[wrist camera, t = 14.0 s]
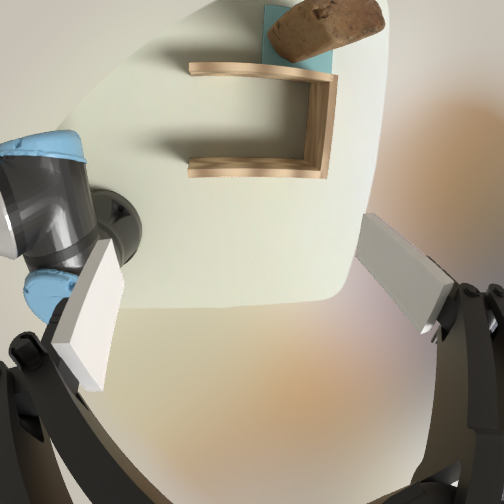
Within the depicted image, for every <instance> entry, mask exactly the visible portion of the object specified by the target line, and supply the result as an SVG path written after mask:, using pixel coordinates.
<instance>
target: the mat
mask: <svg viewBox="0 0 504 504" xmlns="http://www.w3.org/2000/svg"><path fill="white" fill-rule="evenodd" d="M290 9H291V8H288V7H282V6H275V5H267V4H266V5H265V11H264V28H263V45H262V62H261V64H266V65H276V66H285V67H292V68H299V69H306V70H312V71H318V72H323V73H328V74H331V70H332V54H333V50H330V51H328V52H325V53H322V54H320V55H317V56H315V57H312V58H309V59H306V60H303V61H300V62H297V63H291V62H289V61H288V60H287V59H285V58H282V57H281V56H280V55H279V54H278V53H277V52H276V51H275V50H274V48H273V46H272V45H271V43H270V41H269V39H268V37H267V33H268V31H269V29H270V28H271V26H272V25H273V24H274V23H275V22H276V21H277V20H278V19H279V18H280V17H281V16H282V15H284V14H285V13H286V12H287V11H289V10H290Z"/></svg>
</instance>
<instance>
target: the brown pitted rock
mask: <svg viewBox="0 0 504 504" xmlns="http://www.w3.org/2000/svg"><path fill="white" fill-rule="evenodd" d="M384 27H385V21H384V18H383V16H382V11H381V8H380V7H379V5H378V3H377V2H376V1H375V0H304V1H302V2H301V3H299V4H297V5H295V6H294V7H292V8H291V9H290V10H289V11H287V12H286V13H285V14H284V15H282V16H281V17H280V18H279V19H278V20H277V21H276V22H275V23H274V24H273V25H272V26H271V28H270V29H269V31H268V33H267V37H268V39H269V41H270V43H271V45H272V46H273V48H274V50H275V51H276V52H277V53H278V54H279V55H280V56H281V57H282V58H285V59H287V60H288V61H289V62H291V63H297V62H300V61H303V60H306V59H309V58H312V57H315V56H317V55H320V54H322V53H325V52H328V51H330V50H333V49H336V48H339V47H342V46H345V45H348V44H351V43H353V42H356V41H359V40H361V39H363V38H366V37H368V36H371V35H374V34H376V33H378V32H380V31H382V30H383V29H384Z"/></svg>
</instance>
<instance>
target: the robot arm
mask: <svg viewBox="0 0 504 504" xmlns="http://www.w3.org/2000/svg"><path fill="white" fill-rule="evenodd" d="M86 164H87V161H86V159H85V158H84V154H83V148H82V143H81V138H80V136H79V135H78V134H77V133H76V132H75V131H73V130H58V131H50V132H44V133H39V134H34V135H30V136H26V137H22V138H19V139H15V140H11V141H7V142H4V143H2V144H0V256H4V257H7V258H10V259H13V260H14V259H16V258H18V257H19V256H21V255H22V254H23V257H24V259H25V262H26V264H27V267H28V269H29V271H30V273H29V274H28V275H27V277H26V278H25V284H24V285H25V286H24V288H23V291H24V292H23V293H24V297H25V300H26V302H27V304H28V306H29V308H30V309H31V310H32V312H33V313H34V314H35V315H36V316H37V317H38V318H39V319H41V320H42V321H43V322H45V323H46V324H48V325H47V328H46V330H45V332H44V334H43V337H42V339H41V342H40V341H39V339H38V337H37V336H36V335H35V333H33V332H30V331H29V332H23V333H21V334H19V335H18V336H17V337H16V338H14V340H13V341H12V343H11V344H10V347H9V356H10V357H11V358H12V360H13V361H14V362H15V364H16V365H17V367H13V368H8V367H7V366H6V365H5V364H4V362H2V361H0V504H73V502H72V499H71V497H70V495H69V492H68V490H67V488H66V485H65V483H64V480H63V478H62V475H61V472H60V469H59V466H58V463H57V461H56V458H55V454H54V451H53V448H52V444H51V441H50V438H51V440H52V442H53V444H54V446H55V448H56V449H57V451H58V453H59V455H60V457H61V458H62V460H63V461H64V463H65V465H66V466H67V468H68V469H69V471H70V473H71V474H72V476H73V477H74V479H75V480H76V482H77V483H78V485H79V486H80V487H81V489H82V490H83V492H84V493H85V494H86V496H87V497H88V498H89V500H90V501H91V502H92V504H173V503H172V502H171V501H169V500H168V499H167V498H166V497H165V496H164V495H163V494H162V493H161V492H160V491H159V490H158V489H157V488H156V487H155V486H153V485H152V484H151V483H150V482H149V481H148V479H147V478H146V477H145V476H144V475H143V474H142V473H141V472H140V471H139V470H138V469H137V468H136V467H135V466H134V465H133V463H132V462H131V461H130V460H129V459H128V458H127V457H126V456H125V454H124V453H123V452H122V451H121V450H120V449H119V447H118V446H117V445H116V444H115V442H114V441H113V440H112V439H111V437H110V436H109V435H108V433H107V432H106V431H105V429H104V428H103V427H102V425H101V424H100V423H99V421H98V420H97V418H96V417H95V416H94V414H93V413H92V411H91V410H90V408H89V407H88V405H87V404H86V402H85V401H84V399H83V398H82V396H81V395H80V393H78V386H79V383H80V384H81V386H82V387H83V388H84V389H85V390H86V391H100V392H103V388H104V381H105V374H106V368H107V362H108V357H109V352H110V346H111V341H112V336H113V331H114V327H115V322H116V318H117V314H118V310H119V305H120V301H121V297H122V293H123V290H124V286H125V283H124V279H123V276H122V273H121V270H120V268H121V267H122V266H123V265H124V264H126V263H127V262H128V261H129V260H130V259H131V258H132V257H133V256H134V255H135V253H136V251H137V249H138V247H139V244H140V241H141V237H142V225H141V221H140V218H139V215H138V213H137V211H136V210H135V208H134V207H133V205H132V204H131V203H130V202H129V201H128V200H127V199H125V198H124V197H122V196H121V195H119V194H117V193H114V192H111V191H106V190H98V191H93V192H90V187H89V182H88V176H87V170H86ZM355 257H356V258H357V259H358V260H359V261H360V262H361V263H362V265H364V267H365V268H366V269H367V270H368V271H369V272H370V274H371V275H372V276H373V277H374V278H375V279H376V281H377V282H378V283H379V284H380V285H381V286H382V288H383V289H384V290H385V291H386V292H387V294H388V295H389V296H390V297H391V298H392V299H393V301H394V302H395V303H396V304H397V306H398V307H399V308H400V309H401V311H402V312H403V313H404V314H405V316H406V317H407V318H408V319H409V321H410V322H411V323H412V324H413V326H414V327H415V328H416V329H417V331H418V332H419V333H420V334H422V333H425V332H427V331H430V330H431V329H432V327H433V326H434V324H435V322H436V320H437V321H438V322H439V323H440V325H439V327H438V329H437V331H436V333H435V334H434V336H433V338H432V341H431V342H432V343H433V341H434V340H435V338H437V342H436V344H437V367H436V381H435V392H434V401H433V409H432V416H431V423H430V429H429V434H428V440H427V445H426V449H425V454H424V458H423V460H422V462H421V464H420V465H419V466H418V468H417V469H416V471H415V473H414V475H413V478H412V480H411V483H410V485H408V486H406V487H404V488H401V489H399V490H397V491H395V492H392V493H390V494H387V495H385V496H383V497H381V498H378V499H376V500H374V501H372V502H370V503H367V504H504V289H503V288H502V287H501V286H499V285H497V284H490V285H489V287H488V289H487V291H486V293H485V292H484V293H482V292H480V291H479V290H478V289H477V288H475V287H474V286H473V285H470V284H468V283H462V284H460V285H459V284H458V283H457V282H456V281H455V280H454V279H453V278H452V277H451V276H450V275H449V274H448V273H447V272H446V271H445V270H443V269H441V267H440V266H439V265H438V264H436V262H435V261H433V260H432V259H431V258H430V257H428V256H427V255H425V254H424V253H422V252H421V251H420V250H419V249H418V248H417V247H415V246H414V245H413V244H412V243H411V242H409V241H408V240H407V239H406V238H405V237H403V236H402V235H401V234H400V233H399V232H397V231H396V230H395V229H394V228H392V227H391V226H390V225H389V224H387V223H386V222H385V221H383V220H382V219H381V218H380V217H378V216H377V215H376V214H375V213H369V214H363V218H362V224H361V229H360V235H359V240H358V245H357V250H356V255H355ZM495 321H497V323H498V326H497V327H496V329H495V331H494V332H493V333H492V331H491V328H492V326H493V324H494V323H495ZM458 480H459V481H458ZM455 481H458V486H457V487H455V486H452V485H451V484H452V483H453V482H455ZM502 495H503V497H502ZM501 499H502V500H501Z"/></svg>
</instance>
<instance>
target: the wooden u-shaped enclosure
mask: <svg viewBox="0 0 504 504" xmlns="http://www.w3.org/2000/svg"><path fill="white" fill-rule="evenodd" d="M189 72H190V74H191V76H243V77H260V78H272V79H282V80H291V81H298V82H305V83H310V92H309V105H308V117H307V128H306V138H305V148H304V158H303V159H285V158H253V157H213V158H190V162H189V166H188V178H195V177H295V178H318V179H327V174H328V167H329V159H330V151H331V143H332V135H333V125H334V116H335V106H336V94H337V82H338V75H333V74H328V73H323V72H318V71H312V70H306V69H299V68H292V67H285V66H276V65H266V64H253V63H234V62H191V63H189Z"/></svg>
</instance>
